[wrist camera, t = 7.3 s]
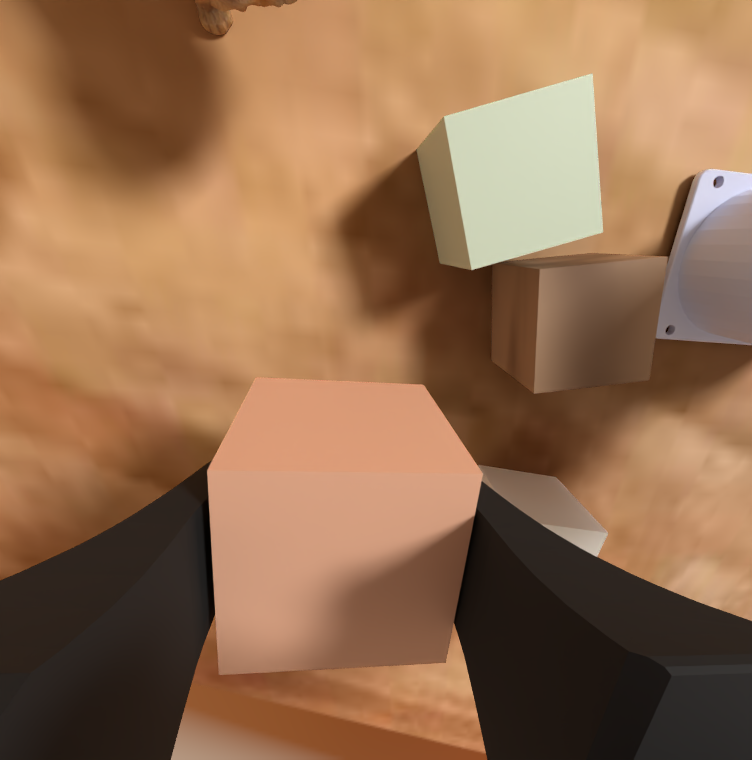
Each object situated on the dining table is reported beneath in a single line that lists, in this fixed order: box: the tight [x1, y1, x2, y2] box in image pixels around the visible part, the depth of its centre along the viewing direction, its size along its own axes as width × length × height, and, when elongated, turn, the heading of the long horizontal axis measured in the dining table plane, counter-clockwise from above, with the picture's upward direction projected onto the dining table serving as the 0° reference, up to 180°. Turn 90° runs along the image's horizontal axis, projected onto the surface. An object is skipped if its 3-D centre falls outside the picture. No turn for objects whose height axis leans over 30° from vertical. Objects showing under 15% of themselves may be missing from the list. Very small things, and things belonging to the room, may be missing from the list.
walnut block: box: [491, 253, 668, 394], centre depth 18 cm, size 5×5×5 cm
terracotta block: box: [207, 377, 483, 675], centre depth 10 cm, size 5×5×5 cm
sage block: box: [416, 74, 603, 270], centre depth 16 cm, size 5×5×5 cm
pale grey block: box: [478, 465, 608, 557], centre depth 22 cm, size 5×5×5 cm
